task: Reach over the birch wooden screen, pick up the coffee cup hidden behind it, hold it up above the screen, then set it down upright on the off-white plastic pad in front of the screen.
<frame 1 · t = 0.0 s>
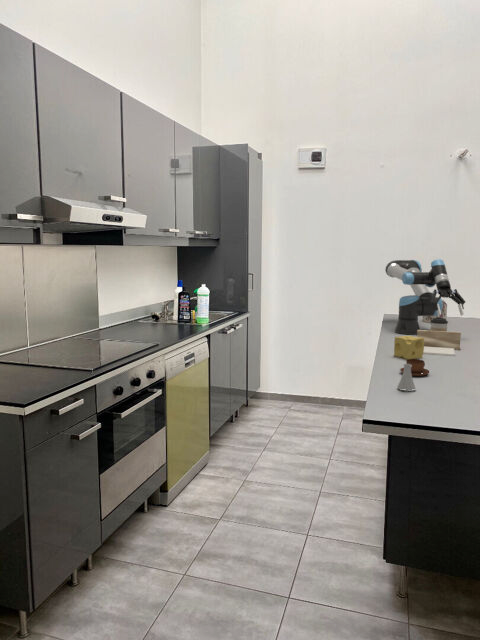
hand: (451, 314, 303), 15 cm above the table, tool tilted 35°, fingers open, 13 cm apart
cup and saucer: (414, 375, 230), on the table
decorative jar: (434, 322, 375), on the table
wooden screen: (437, 347, 286), on the table
flask: (406, 390, 206), on the table
coffee cup: (437, 345, 294), on the table
display pad: (438, 351, 276), on the table
cheese: (408, 357, 264), on the table
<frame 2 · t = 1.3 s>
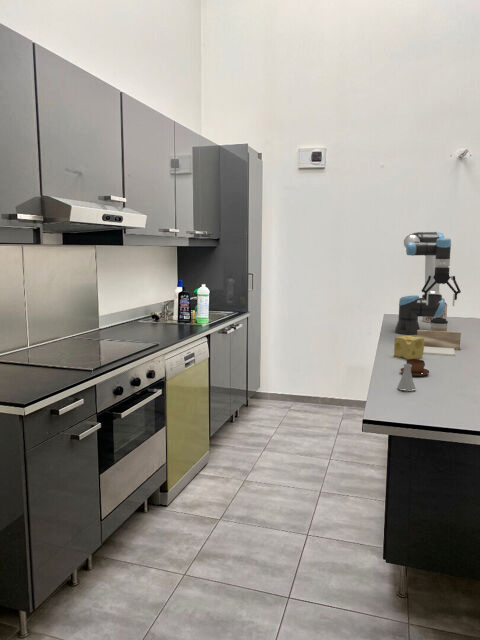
hand: (440, 305, 291), 22 cm above the table, tool pointing down, fingers open, 13 cm apart
nothing on the table moved.
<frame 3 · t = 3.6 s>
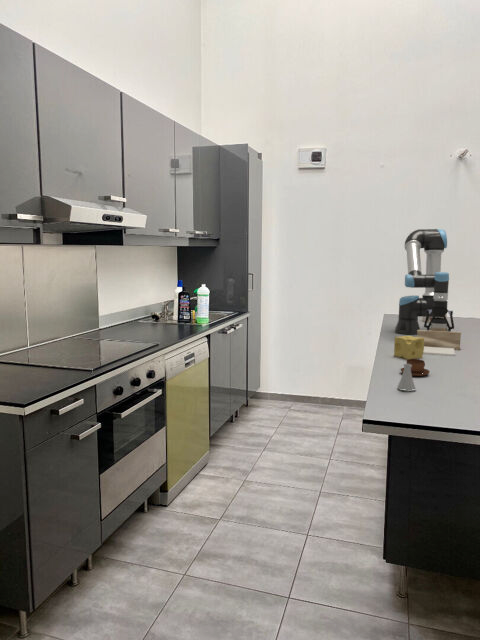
hand: (438, 340, 294), 2 cm above the table, tool pointing down, fingers closed on coffee cup, 8 cm apart
coffee cup: (437, 345, 294), on the table, touching gripper
everything else where it was.
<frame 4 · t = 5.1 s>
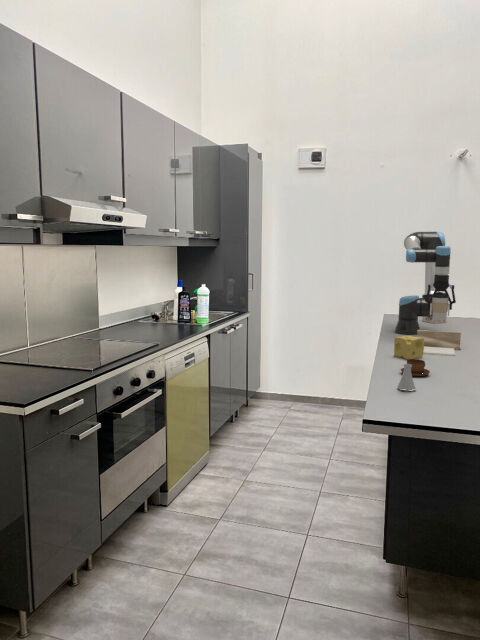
hand: (439, 315, 292), 17 cm above the table, tool pointing down, fingers closed on coffee cup, 8 cm apart
coffee cup: (439, 319, 292), point 14 cm above the table, touching gripper
everything else where it was.
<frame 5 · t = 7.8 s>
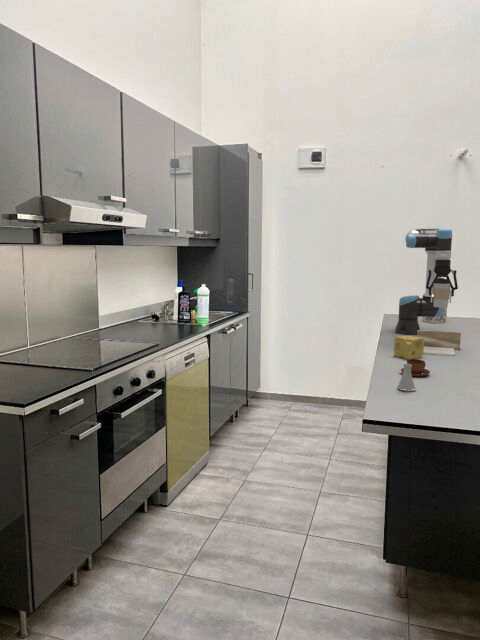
hand: (440, 302, 277), 25 cm above the table, tool pointing down, fingers closed on coffee cup, 8 cm apart
coffee cup: (440, 307, 278), point 23 cm above the table, touching gripper
everything else where it was.
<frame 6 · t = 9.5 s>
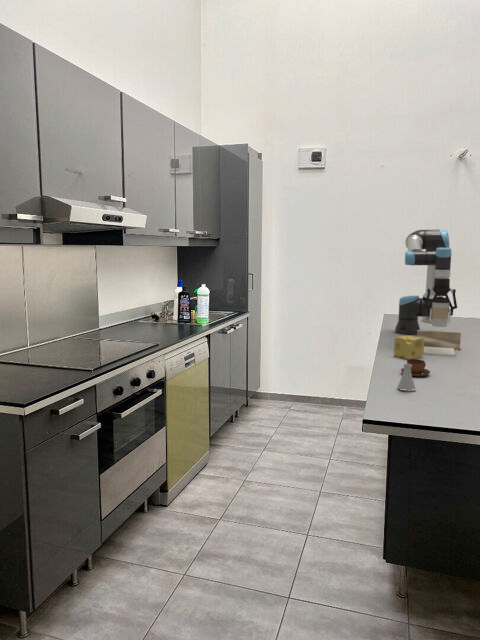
hand: (439, 321, 273), 16 cm above the table, tool pointing down, fingers closed on coffee cup, 8 cm apart
coffee cup: (439, 326, 273), point 13 cm above the table, touching gripper
everything else where it was.
when the fingers open (5 cm above the table, at t = 11.9 s): coffee cup drops 1 cm, point 1 cm above the table.
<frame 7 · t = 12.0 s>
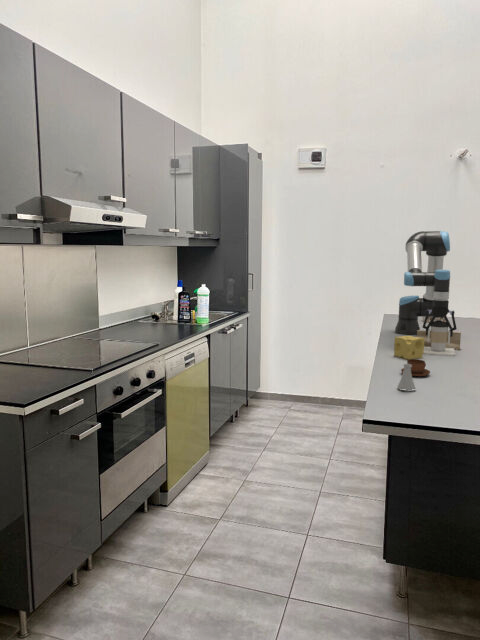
hand: (438, 342, 275), 5 cm above the table, tool pointing down, fingers open, 9 cm apart
coffee cup: (438, 349, 275), point 1 cm above the table
everything else where it was.
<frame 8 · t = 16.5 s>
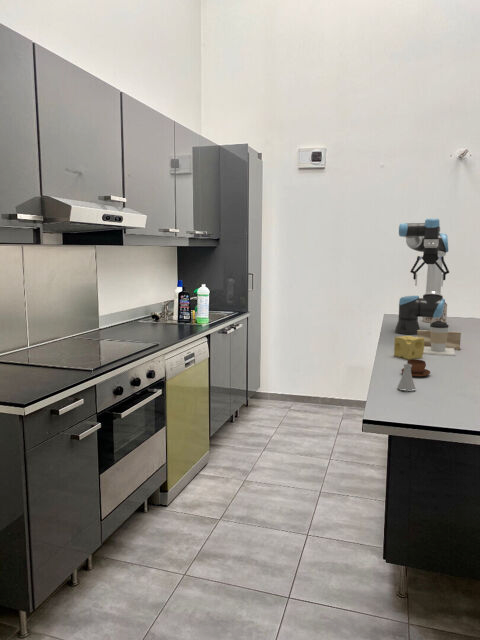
hand: (428, 286, 292), 33 cm above the table, tool pointing down, fingers open, 13 cm apart
coffee cup: (438, 350, 276), point 1 cm above the table, touching display pad
everything else where it was.
at the end: coffee cup inside the target area on the display pad (0.1 cm from its centre), point 0.6 cm above the display pad's base; coffee cup tilted 0°; the gripper is holding nothing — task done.
